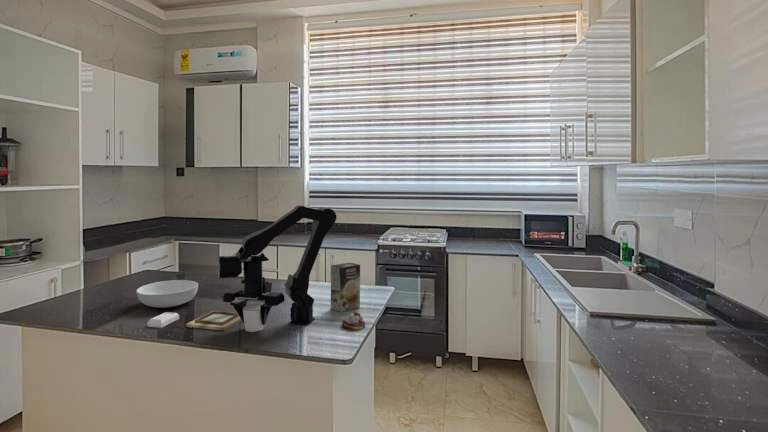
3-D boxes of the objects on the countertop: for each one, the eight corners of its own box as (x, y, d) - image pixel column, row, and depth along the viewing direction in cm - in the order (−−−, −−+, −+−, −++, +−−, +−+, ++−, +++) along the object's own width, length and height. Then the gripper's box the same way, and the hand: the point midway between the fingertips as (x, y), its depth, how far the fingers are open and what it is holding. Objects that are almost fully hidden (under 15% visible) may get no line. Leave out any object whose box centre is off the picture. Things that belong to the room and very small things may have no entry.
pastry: (366, 330, 140) (366, 314, 140) (343, 331, 139) (343, 316, 138) (363, 321, 148) (363, 307, 147) (340, 323, 146) (340, 308, 146)
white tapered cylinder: (257, 323, 145) (256, 302, 145) (269, 328, 141) (269, 306, 140) (238, 329, 140) (238, 307, 140) (251, 334, 136) (250, 311, 135)
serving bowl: (128, 304, 166) (128, 286, 166) (185, 293, 181) (184, 277, 181) (149, 317, 152) (148, 297, 151) (208, 304, 167) (208, 286, 167)
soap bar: (147, 327, 142) (147, 319, 142) (166, 318, 151) (165, 311, 151) (161, 328, 141) (161, 320, 141) (179, 319, 150) (178, 312, 150)
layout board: (248, 316, 152) (248, 311, 152) (224, 330, 139) (224, 325, 138) (212, 313, 156) (212, 308, 155) (186, 326, 142) (185, 321, 142)
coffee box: (341, 312, 157) (341, 268, 156) (330, 308, 162) (329, 265, 160) (360, 307, 164) (360, 264, 162) (349, 303, 168) (349, 261, 167)
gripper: (291, 271, 145) (292, 318, 146) (240, 268, 149) (241, 313, 150) (275, 279, 134) (276, 329, 135) (220, 276, 138) (222, 324, 140)
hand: (254, 323), depth 140 cm, fingers open, 6 cm apart
